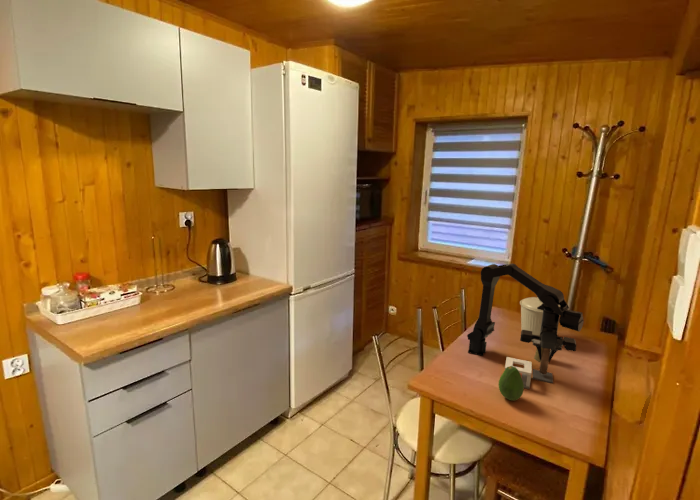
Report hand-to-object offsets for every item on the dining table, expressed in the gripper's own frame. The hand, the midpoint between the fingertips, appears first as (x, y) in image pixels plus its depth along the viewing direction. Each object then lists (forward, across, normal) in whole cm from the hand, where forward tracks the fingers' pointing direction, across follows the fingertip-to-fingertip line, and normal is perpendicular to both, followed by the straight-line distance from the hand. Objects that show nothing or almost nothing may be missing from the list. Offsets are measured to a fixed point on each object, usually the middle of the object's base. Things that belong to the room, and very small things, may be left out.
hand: (544, 360), depth 150 cm
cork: (+7, 0, +15) cm, 17 cm away
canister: (+7, -2, +37) cm, 38 cm away
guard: (+7, -9, -7) cm, 13 cm away
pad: (+7, 0, 0) cm, 7 cm away
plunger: (+6, -9, -7) cm, 13 cm away
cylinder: (+5, 0, 0) cm, 5 cm away
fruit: (+7, -11, -21) cm, 25 cm away
